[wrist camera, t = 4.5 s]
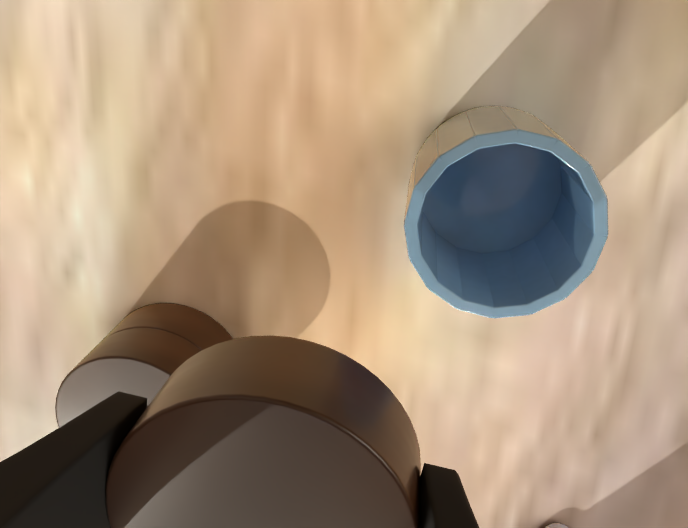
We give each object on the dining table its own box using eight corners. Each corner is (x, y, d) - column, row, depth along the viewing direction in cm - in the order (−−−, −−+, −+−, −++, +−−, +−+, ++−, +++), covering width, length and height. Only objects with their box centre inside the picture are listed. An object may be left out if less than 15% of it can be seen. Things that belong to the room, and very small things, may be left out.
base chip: (271, 356, 23) (258, 385, 21) (203, 444, 25) (185, 478, 24) (149, 275, 23) (124, 297, 21) (89, 372, 25) (62, 401, 23)
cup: (604, 169, 19) (653, 211, 15) (497, 284, 21) (514, 350, 17) (477, 71, 18) (492, 87, 14) (379, 200, 20) (367, 246, 16)
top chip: (479, 444, 11) (490, 525, 10) (318, 593, 14) (301, 683, 12) (238, 277, 11) (199, 331, 9) (108, 463, 13) (55, 536, 11)
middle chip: (258, 385, 21) (242, 420, 20) (185, 478, 24) (165, 516, 22) (124, 297, 21) (95, 325, 19) (62, 401, 23) (30, 435, 21)
